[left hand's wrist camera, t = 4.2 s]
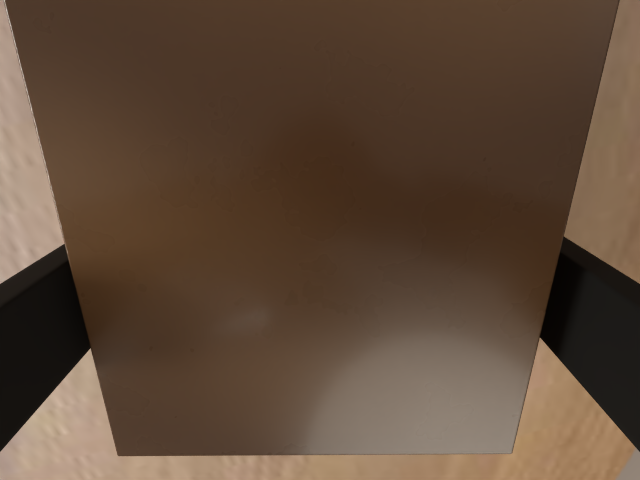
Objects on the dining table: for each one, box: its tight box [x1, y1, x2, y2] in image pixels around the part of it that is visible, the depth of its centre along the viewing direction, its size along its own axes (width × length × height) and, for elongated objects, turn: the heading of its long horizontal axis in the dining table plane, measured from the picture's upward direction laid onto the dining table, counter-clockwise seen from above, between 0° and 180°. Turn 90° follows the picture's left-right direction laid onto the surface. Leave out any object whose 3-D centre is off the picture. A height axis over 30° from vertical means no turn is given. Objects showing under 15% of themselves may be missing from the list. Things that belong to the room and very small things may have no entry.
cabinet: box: [4, 0, 620, 456], centre depth 12 cm, size 20×11×8 cm, turn 0°
